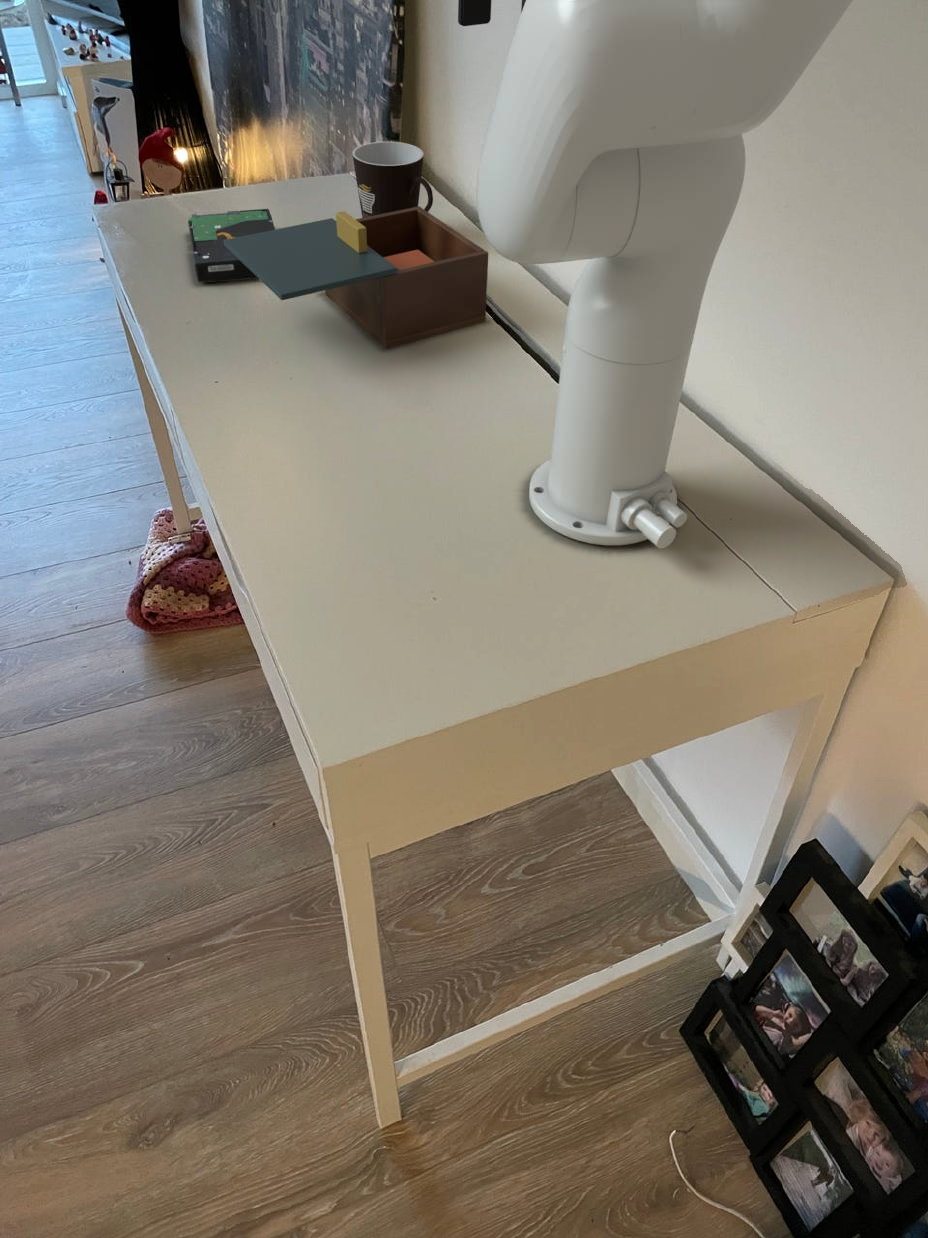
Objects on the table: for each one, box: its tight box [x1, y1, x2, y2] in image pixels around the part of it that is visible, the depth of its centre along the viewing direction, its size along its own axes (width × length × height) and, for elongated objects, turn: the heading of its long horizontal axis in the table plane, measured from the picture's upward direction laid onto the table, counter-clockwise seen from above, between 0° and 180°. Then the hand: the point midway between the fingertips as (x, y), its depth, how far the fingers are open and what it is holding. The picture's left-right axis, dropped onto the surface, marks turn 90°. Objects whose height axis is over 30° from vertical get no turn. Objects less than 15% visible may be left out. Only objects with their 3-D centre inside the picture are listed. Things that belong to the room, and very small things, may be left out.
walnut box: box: [324, 205, 489, 349], centre depth 104 cm, size 15×13×8 cm
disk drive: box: [187, 208, 276, 283], centre depth 114 cm, size 10×3×15 cm
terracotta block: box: [383, 250, 434, 271], centre depth 105 cm, size 4×4×4 cm
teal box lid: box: [224, 210, 397, 301], centre depth 96 cm, size 15×13×3 cm
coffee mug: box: [351, 141, 434, 218], centre depth 116 cm, size 12×9×10 cm
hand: (504, 36), depth 83 cm, fingers open, 9 cm apart
